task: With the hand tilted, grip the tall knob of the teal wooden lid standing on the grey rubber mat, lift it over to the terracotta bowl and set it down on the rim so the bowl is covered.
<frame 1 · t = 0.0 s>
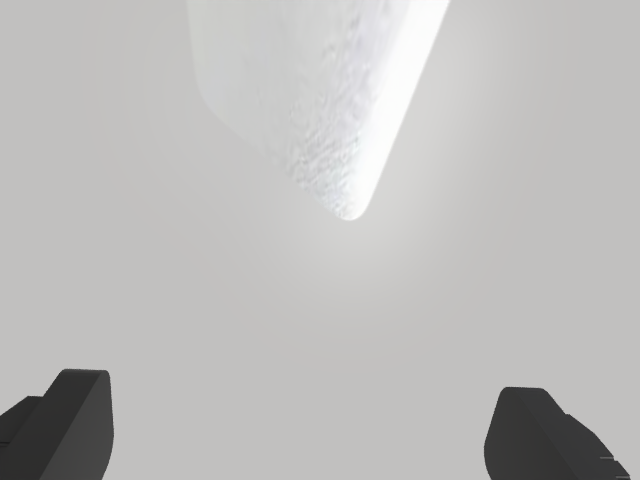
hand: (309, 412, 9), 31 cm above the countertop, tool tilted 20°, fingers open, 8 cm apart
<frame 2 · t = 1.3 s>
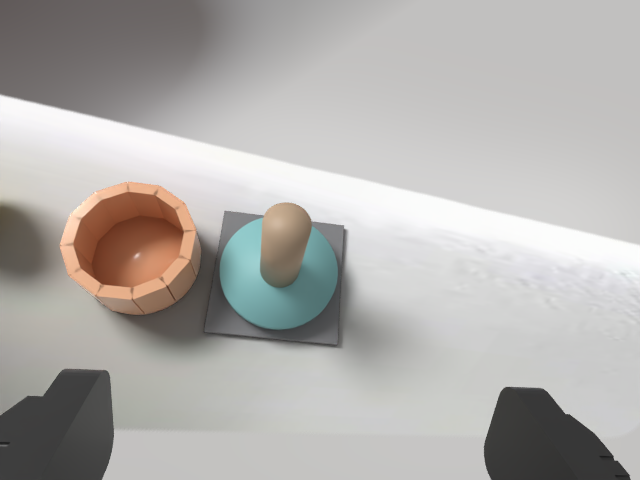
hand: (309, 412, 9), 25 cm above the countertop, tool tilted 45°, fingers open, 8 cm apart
bowl: (143, 260, 35), on the countertop
lid: (278, 274, 36), resting on mat
mat: (278, 276, 36), on the countertop
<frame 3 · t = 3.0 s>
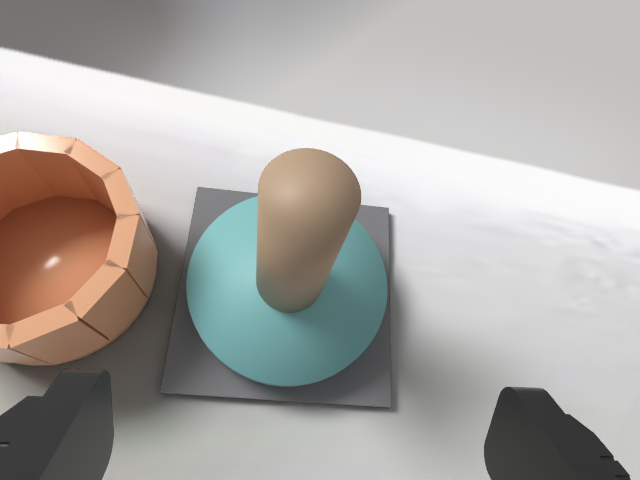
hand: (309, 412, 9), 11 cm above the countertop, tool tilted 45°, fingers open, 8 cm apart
bowl: (60, 270, 21), on the countertop
lid: (287, 289, 22), resting on mat
mat: (287, 291, 22), on the countertop
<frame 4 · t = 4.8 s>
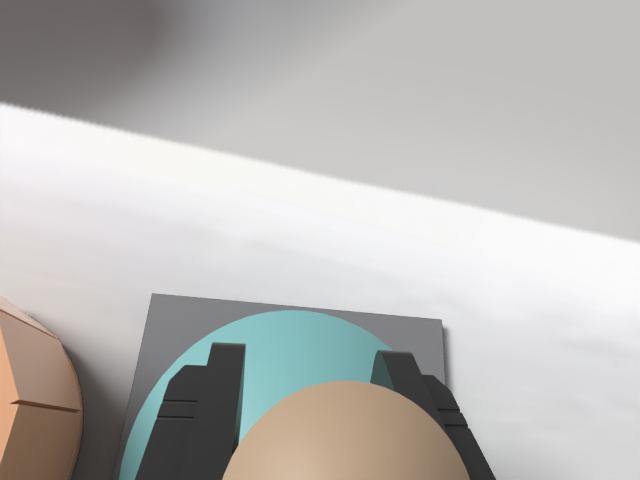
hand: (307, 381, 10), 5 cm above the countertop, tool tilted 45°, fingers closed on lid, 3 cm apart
lid: (289, 469, 14), resting on mat, touching gripper
mat: (288, 468, 14), on the countertop
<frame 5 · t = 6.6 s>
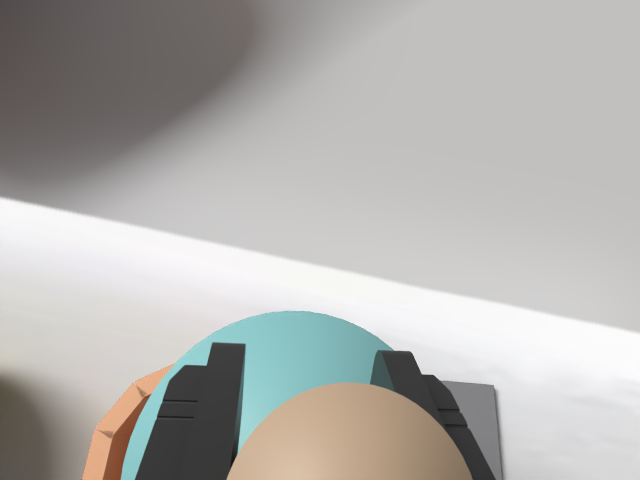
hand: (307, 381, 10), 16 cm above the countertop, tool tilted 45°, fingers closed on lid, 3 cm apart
bowl: (205, 462, 23), on the countertop
lid: (290, 470, 14), point 11 cm above the countertop, touching gripper
mat: (407, 477, 24), on the countertop
when the fingers open (10 cm above the countertop, at t = 8.3 s): lid drops 1 cm, resting on bowl.
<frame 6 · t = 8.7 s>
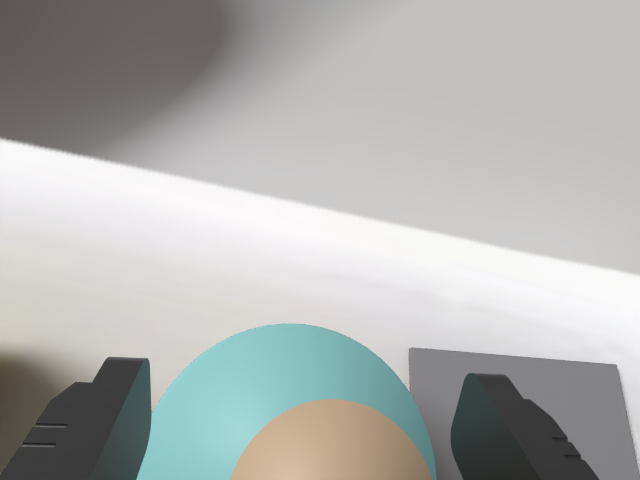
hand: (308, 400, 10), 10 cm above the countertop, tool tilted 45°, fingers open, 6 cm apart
lid: (287, 471, 15), point 4 cm above the countertop, touching bowl
mat: (525, 477, 19), on the countertop
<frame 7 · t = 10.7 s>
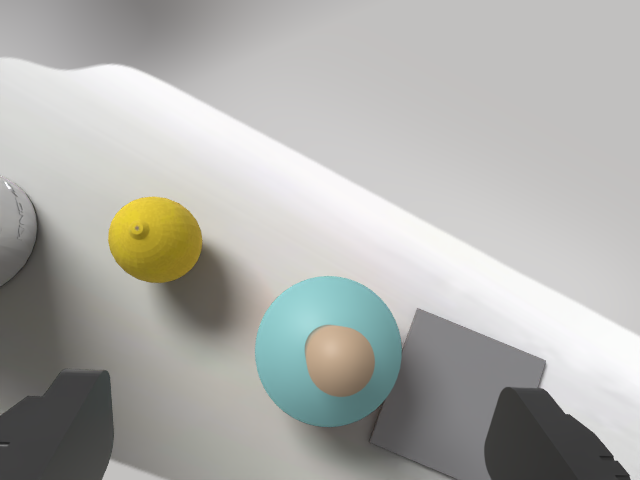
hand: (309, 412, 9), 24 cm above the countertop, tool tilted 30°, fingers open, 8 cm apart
lemon: (175, 249, 34), on the countertop
lid: (327, 348, 29), point 4 cm above the countertop, touching bowl
mat: (458, 399, 33), on the countertop
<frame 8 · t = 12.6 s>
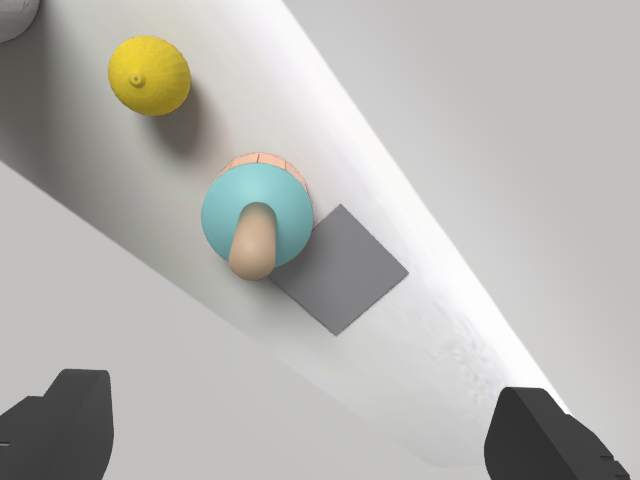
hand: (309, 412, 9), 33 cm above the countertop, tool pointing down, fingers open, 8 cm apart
bowl: (260, 199, 42), on the countertop
lemon: (164, 75, 37), on the countertop
lid: (258, 214, 38), point 4 cm above the countertop, touching bowl
mat: (337, 272, 45), on the countertop
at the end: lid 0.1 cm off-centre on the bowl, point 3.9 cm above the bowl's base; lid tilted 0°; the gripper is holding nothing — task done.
